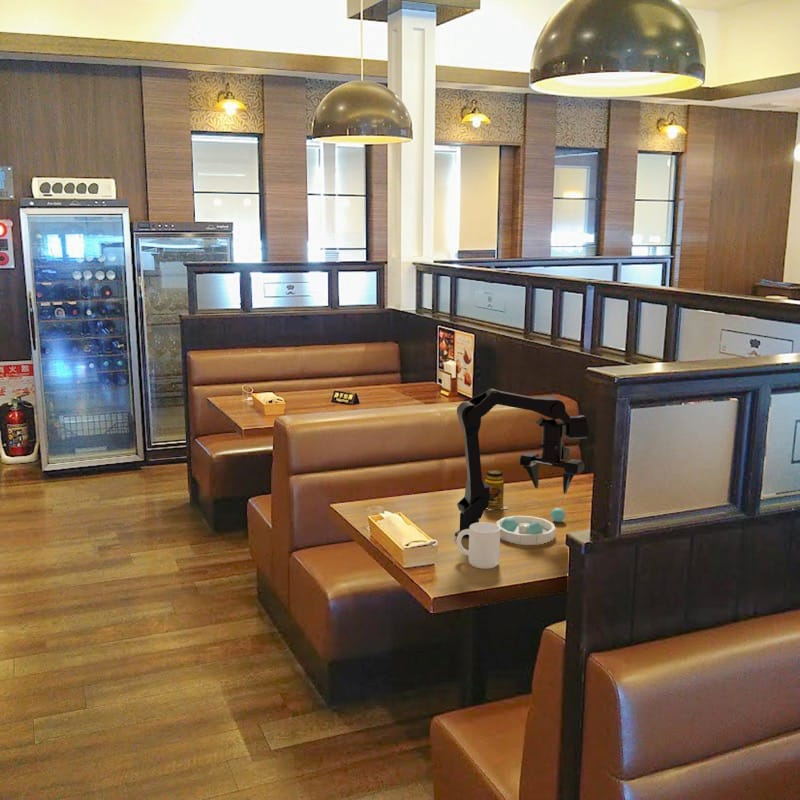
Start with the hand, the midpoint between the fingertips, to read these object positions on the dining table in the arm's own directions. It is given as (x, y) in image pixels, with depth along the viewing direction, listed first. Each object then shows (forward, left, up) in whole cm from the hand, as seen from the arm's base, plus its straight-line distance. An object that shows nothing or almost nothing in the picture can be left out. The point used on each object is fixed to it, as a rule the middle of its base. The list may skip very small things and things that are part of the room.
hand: (550, 490), depth 252 cm
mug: (-34, +6, -13) cm, 37 cm away
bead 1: (-10, +8, -10) cm, 16 cm away
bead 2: (-10, 0, -10) cm, 14 cm away
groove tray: (-7, +4, -13) cm, 15 cm away
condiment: (+12, +24, -13) cm, 30 cm away
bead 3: (+9, +1, -10) cm, 14 cm away
